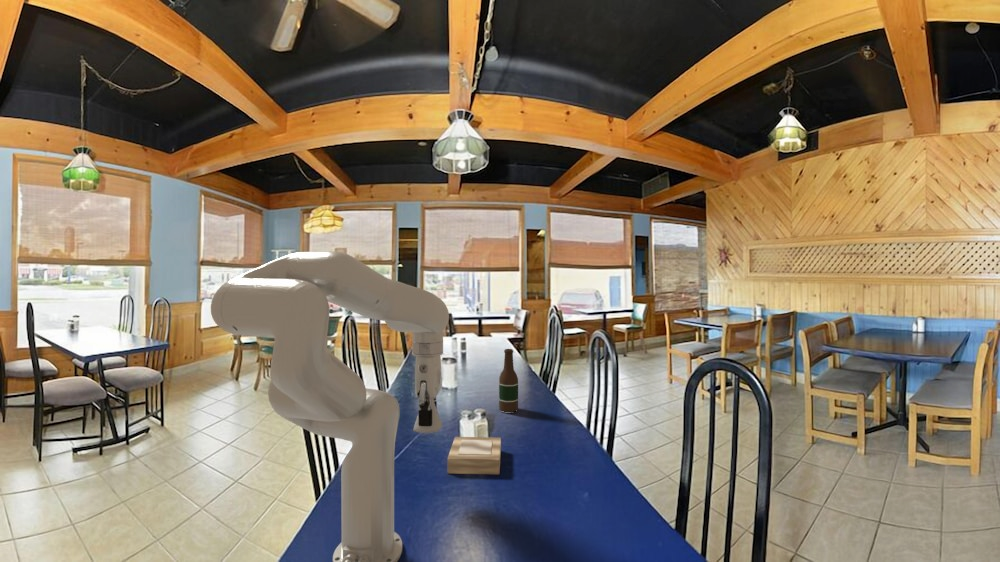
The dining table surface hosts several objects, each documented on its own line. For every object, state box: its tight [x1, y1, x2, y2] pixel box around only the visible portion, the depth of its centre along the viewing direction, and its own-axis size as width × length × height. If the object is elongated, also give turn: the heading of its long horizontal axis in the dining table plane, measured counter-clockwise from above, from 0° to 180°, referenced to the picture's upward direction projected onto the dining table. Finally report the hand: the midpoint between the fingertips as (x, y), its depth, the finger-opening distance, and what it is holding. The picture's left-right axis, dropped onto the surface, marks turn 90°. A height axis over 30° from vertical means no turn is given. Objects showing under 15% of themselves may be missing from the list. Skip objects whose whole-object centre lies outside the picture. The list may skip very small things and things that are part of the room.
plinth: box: [446, 436, 502, 475], centre depth 112 cm, size 14×14×4 cm
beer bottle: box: [498, 348, 519, 412], centre depth 154 cm, size 8×8×24 cm
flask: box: [413, 394, 443, 434], centre depth 97 cm, size 7×7×10 cm
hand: (427, 420), depth 97 cm, fingers closed on flask, 4 cm apart
